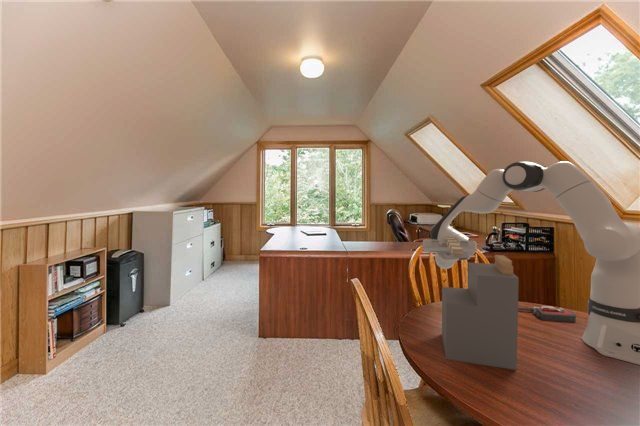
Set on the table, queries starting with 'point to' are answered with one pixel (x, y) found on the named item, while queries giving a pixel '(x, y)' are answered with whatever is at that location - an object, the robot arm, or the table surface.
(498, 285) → the grey stepped block
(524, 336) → the table surface
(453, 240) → the birch strip
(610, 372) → the table surface
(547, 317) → the walkie-talkie
